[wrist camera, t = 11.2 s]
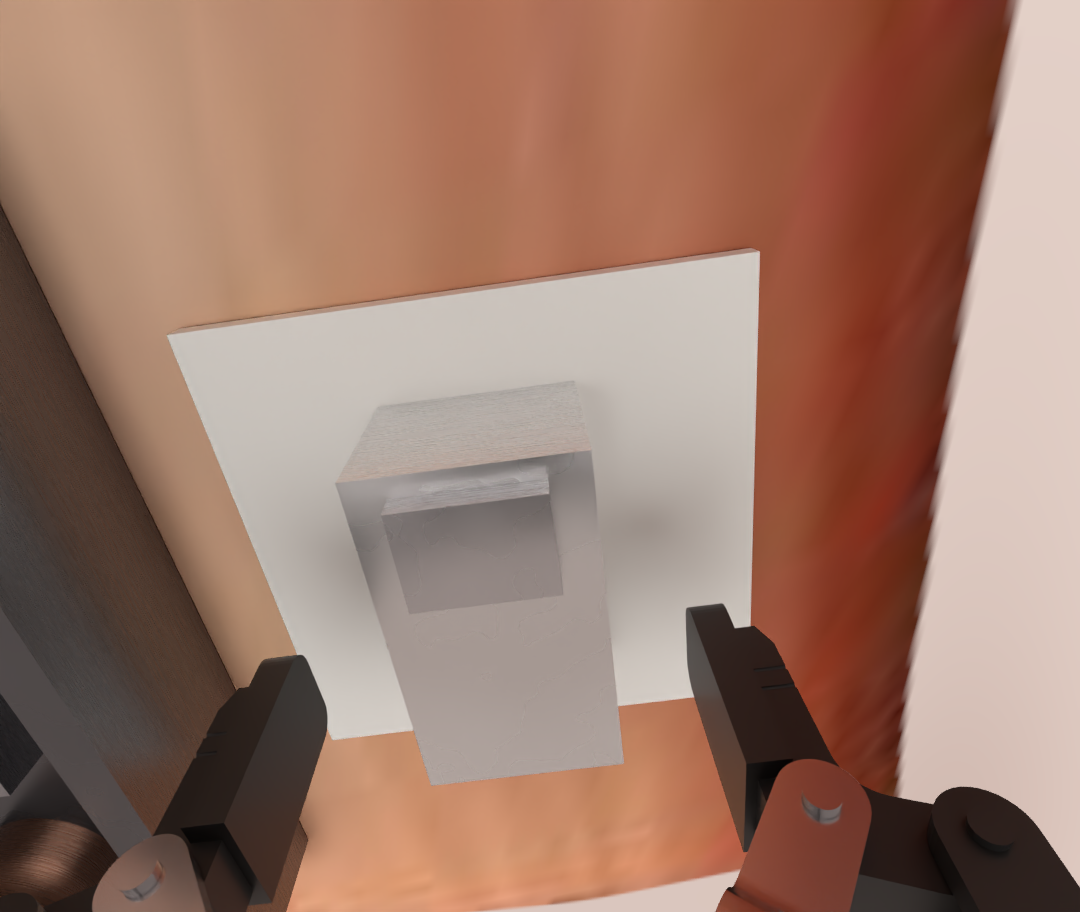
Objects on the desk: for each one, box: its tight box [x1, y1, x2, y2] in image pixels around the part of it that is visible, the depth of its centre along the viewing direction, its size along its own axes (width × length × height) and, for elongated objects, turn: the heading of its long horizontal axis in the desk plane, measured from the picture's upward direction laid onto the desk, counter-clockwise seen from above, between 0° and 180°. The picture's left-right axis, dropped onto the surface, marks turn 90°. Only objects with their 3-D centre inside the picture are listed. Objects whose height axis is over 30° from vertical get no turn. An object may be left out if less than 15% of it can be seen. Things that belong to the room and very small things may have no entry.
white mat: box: [167, 248, 760, 740], centre depth 18 cm, size 14×14×1 cm
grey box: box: [335, 380, 624, 786], centre depth 15 cm, size 9×5×5 cm, turn 7°
